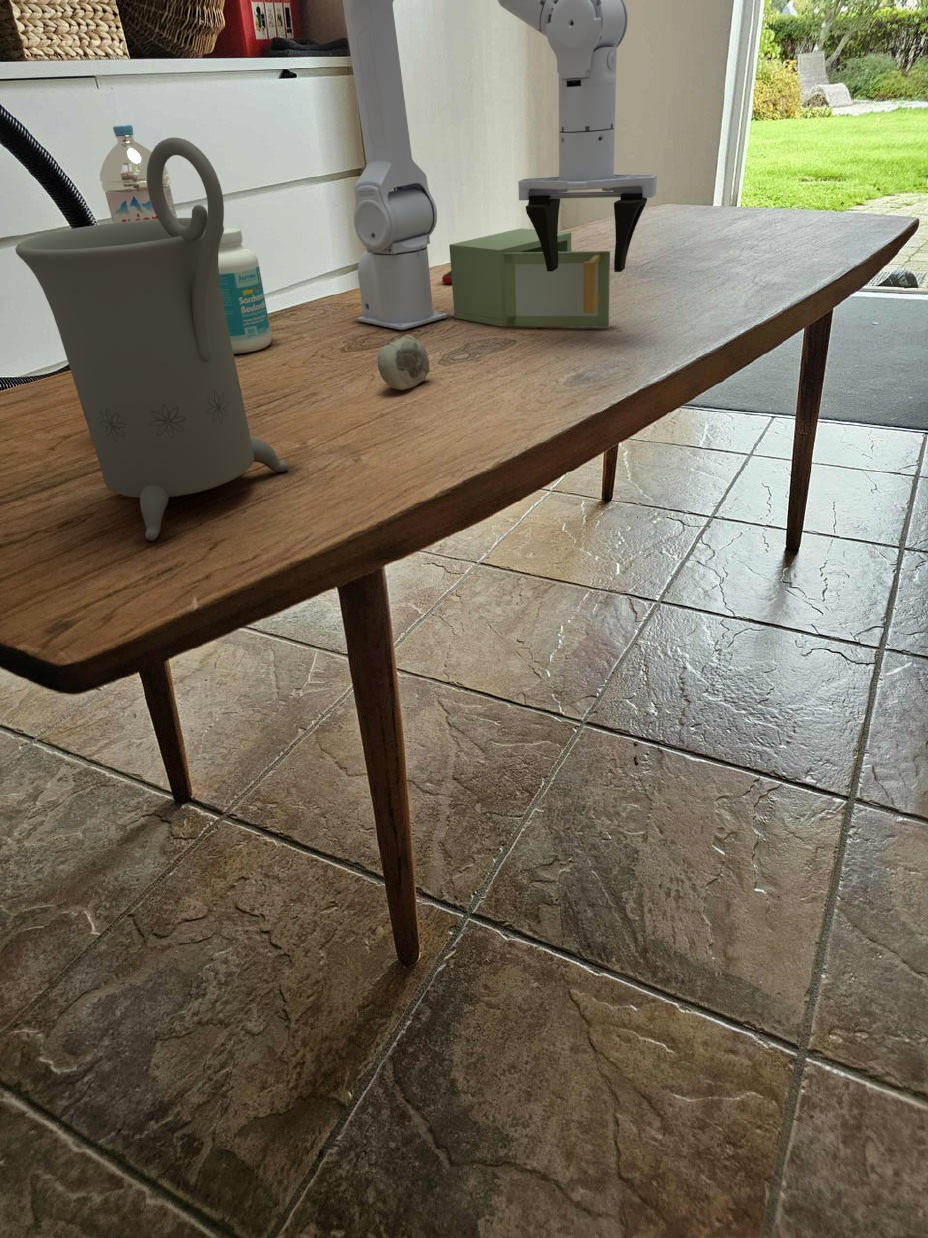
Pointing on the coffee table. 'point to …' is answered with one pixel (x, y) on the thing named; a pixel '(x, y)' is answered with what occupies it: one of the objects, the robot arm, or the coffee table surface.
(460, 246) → the cabinet
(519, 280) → the cabinet door
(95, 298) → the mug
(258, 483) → the coffee table surface
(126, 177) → the water bottle
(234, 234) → the pill bottle
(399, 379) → the fossil
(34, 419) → the coffee table surface
